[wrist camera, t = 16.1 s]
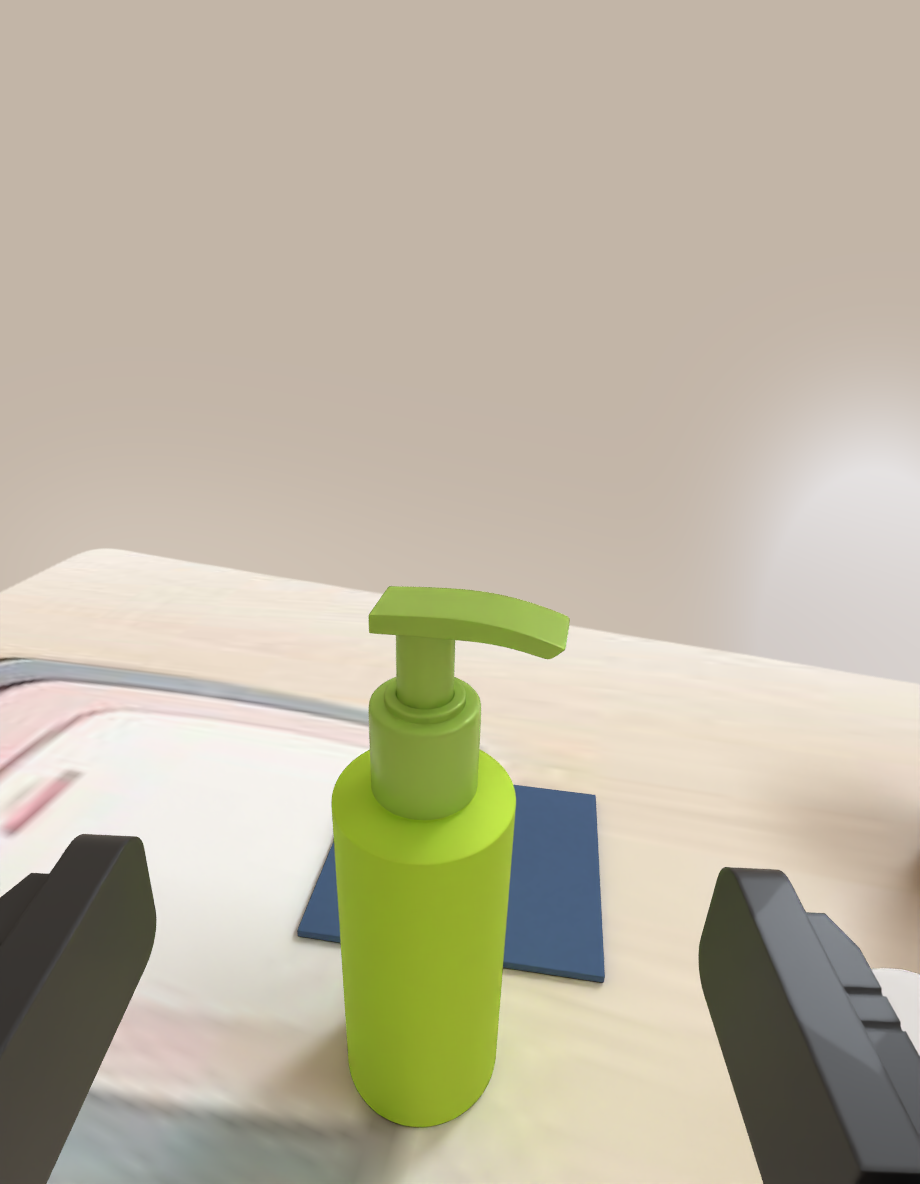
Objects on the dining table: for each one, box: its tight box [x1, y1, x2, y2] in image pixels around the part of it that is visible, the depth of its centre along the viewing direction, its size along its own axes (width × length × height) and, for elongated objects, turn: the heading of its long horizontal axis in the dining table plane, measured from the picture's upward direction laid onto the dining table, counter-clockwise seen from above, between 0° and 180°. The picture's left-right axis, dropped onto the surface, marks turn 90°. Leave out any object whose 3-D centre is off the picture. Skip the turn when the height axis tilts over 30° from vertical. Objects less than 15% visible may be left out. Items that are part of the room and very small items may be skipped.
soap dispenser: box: [332, 586, 570, 1127], centre depth 24 cm, size 6×7×20 cm
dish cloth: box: [297, 785, 605, 983], centre depth 38 cm, size 14×12×1 cm
